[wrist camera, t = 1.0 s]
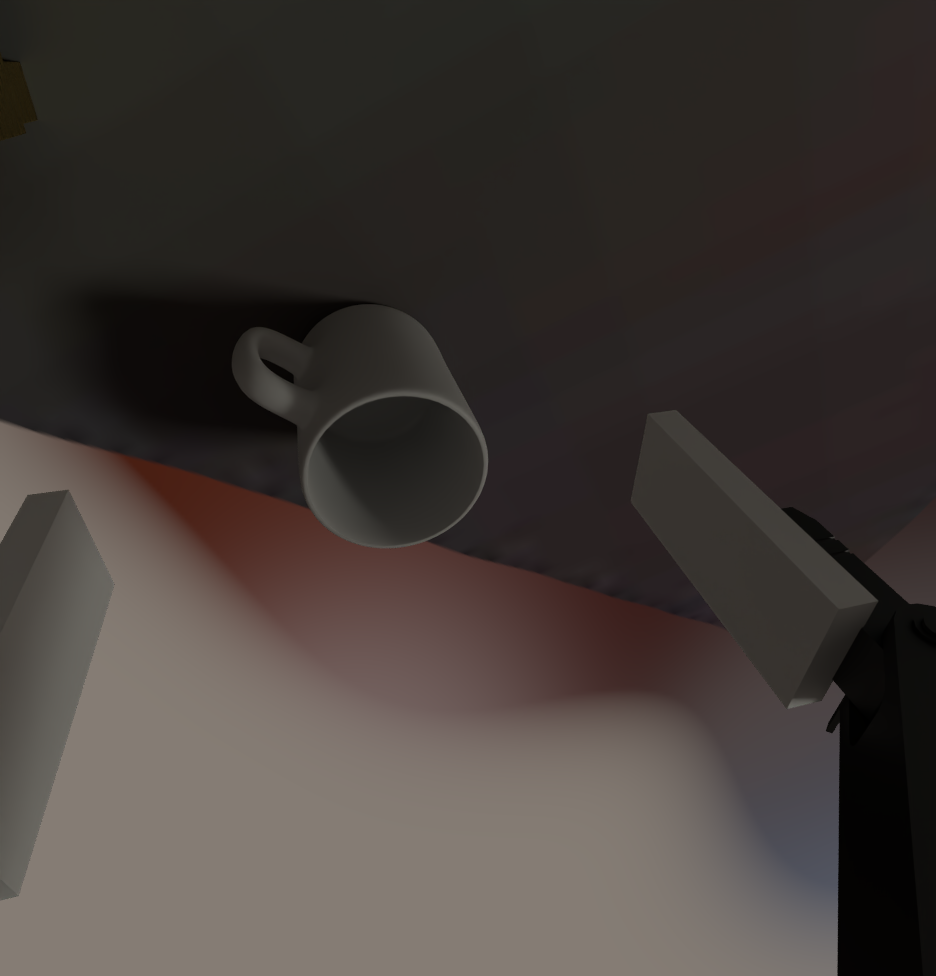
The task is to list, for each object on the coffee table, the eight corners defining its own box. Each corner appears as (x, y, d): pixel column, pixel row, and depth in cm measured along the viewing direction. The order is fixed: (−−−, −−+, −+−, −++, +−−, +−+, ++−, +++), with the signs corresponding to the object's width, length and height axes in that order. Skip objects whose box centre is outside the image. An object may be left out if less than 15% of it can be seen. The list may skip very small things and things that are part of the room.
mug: (468, 349, 36) (527, 442, 28) (392, 458, 39) (424, 572, 31) (279, 233, 30) (279, 303, 22) (206, 371, 33) (180, 483, 25)
